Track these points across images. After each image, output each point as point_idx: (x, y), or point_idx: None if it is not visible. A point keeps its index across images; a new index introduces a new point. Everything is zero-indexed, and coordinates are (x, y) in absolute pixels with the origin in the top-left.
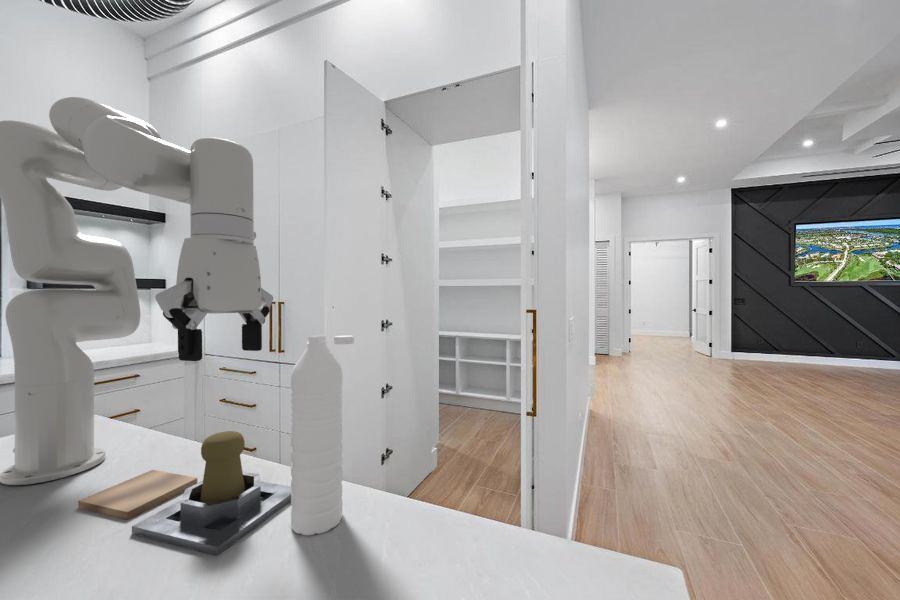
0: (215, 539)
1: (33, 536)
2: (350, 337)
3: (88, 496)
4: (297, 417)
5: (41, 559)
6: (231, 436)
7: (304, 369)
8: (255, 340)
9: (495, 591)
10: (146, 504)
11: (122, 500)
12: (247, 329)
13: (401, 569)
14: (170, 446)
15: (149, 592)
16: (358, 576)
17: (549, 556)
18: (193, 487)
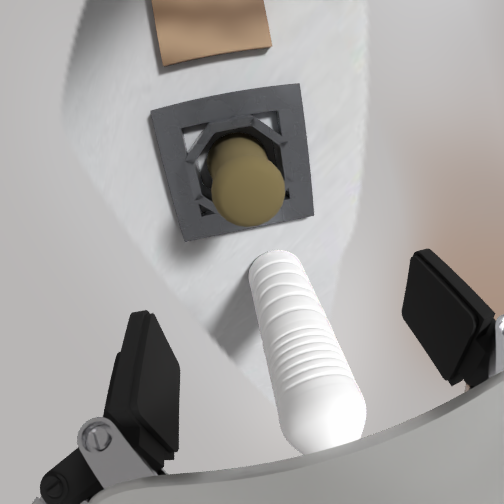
0: (190, 227)
1: (96, 21)
2: None
3: None
4: (270, 374)
5: (85, 84)
6: (254, 218)
7: (289, 442)
8: (420, 332)
9: (262, 392)
10: (189, 59)
11: (176, 23)
12: (453, 334)
13: (254, 356)
14: None
15: (129, 234)
16: (233, 342)
17: None
18: (218, 130)
